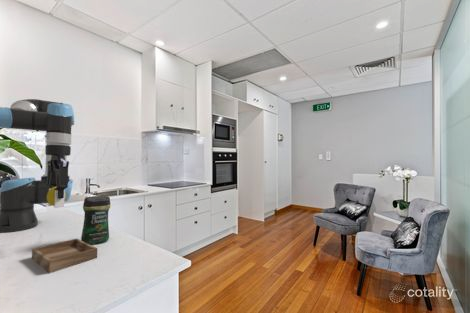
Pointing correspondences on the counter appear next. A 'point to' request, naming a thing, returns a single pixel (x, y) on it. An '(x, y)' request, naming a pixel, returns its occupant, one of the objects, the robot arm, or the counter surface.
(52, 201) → the lemon
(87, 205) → the coffee jar
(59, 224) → the counter surface
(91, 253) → the walnut tray
